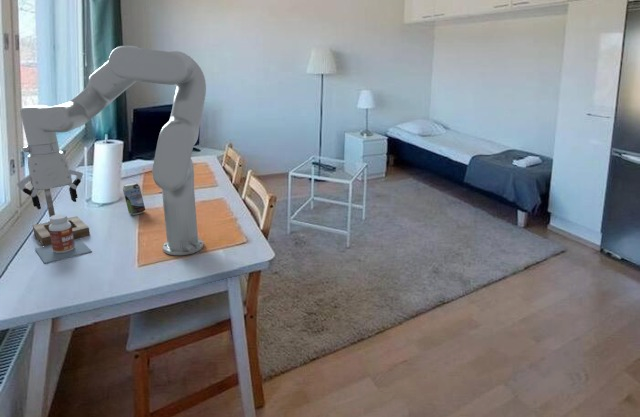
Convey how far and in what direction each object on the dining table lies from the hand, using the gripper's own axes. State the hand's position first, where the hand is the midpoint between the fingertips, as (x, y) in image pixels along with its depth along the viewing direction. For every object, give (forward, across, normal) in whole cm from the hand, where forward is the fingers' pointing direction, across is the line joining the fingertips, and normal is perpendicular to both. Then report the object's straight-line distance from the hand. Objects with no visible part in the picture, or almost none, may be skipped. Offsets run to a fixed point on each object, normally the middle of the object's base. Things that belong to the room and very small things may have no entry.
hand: (56, 204), depth 137 cm
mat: (+15, -1, +1) cm, 15 cm away
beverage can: (+16, +29, +20) cm, 39 cm away
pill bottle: (+15, -1, +1) cm, 15 cm away
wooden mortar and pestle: (+15, +2, +18) cm, 23 cm away
